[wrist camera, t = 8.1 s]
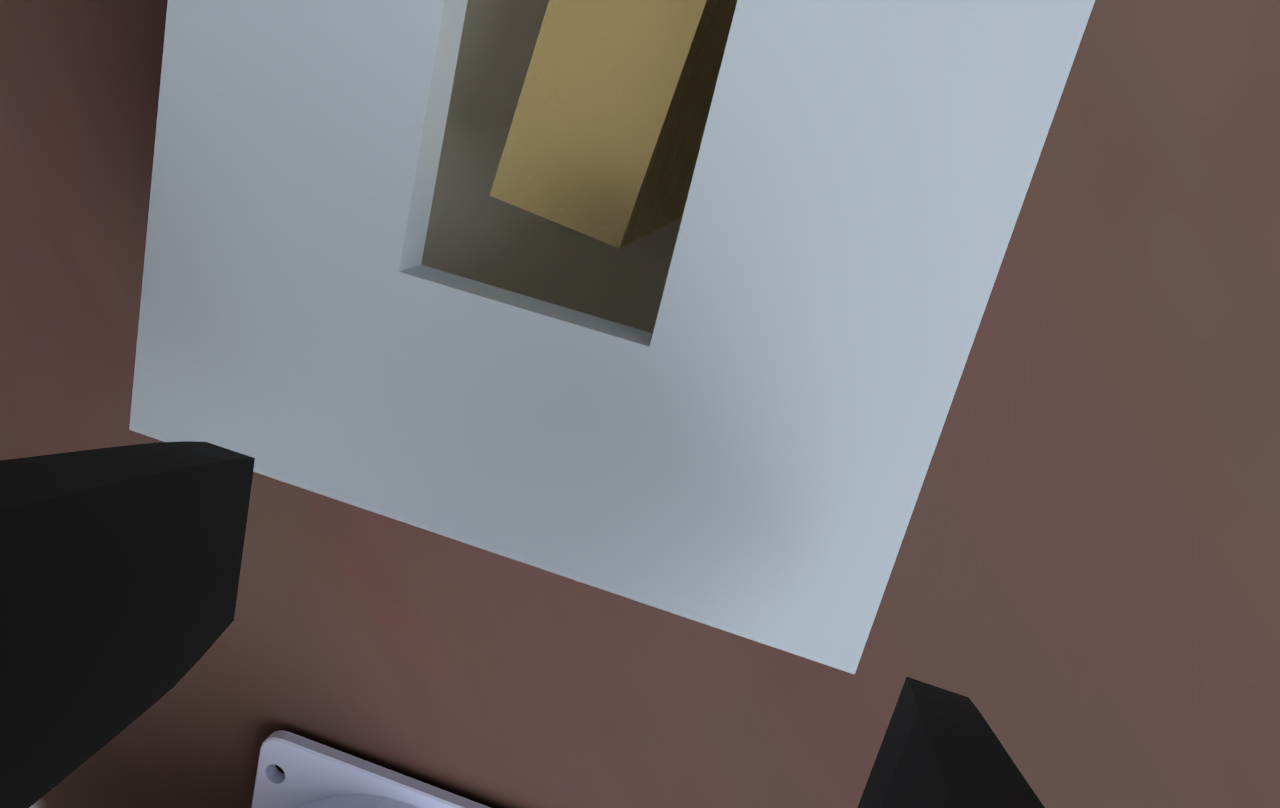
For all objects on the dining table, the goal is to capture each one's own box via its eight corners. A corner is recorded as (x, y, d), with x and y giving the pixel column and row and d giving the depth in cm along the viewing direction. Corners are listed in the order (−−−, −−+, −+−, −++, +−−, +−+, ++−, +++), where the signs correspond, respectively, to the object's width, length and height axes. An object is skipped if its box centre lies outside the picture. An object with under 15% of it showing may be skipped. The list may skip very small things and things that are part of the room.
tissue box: (866, 493, 20) (854, 674, 14) (356, 335, 22) (129, 429, 15) (1143, -322, 16) (1317, -622, 9) (480, -446, 18) (237, -776, 11)
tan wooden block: (685, 214, 19) (619, 248, 14) (587, 175, 19) (489, 195, 15) (790, -66, 18) (753, -131, 13) (680, -106, 18) (604, -184, 13)
